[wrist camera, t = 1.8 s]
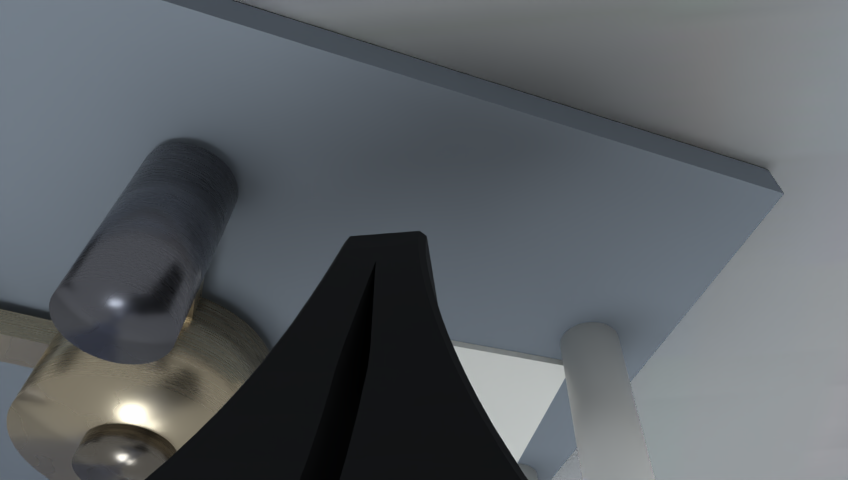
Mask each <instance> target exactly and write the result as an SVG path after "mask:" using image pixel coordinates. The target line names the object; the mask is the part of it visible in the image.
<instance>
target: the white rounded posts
mask: <svg viewBox="0 0 848 480" xmlns="http://www.w3.org/2000/svg"><path fill="white" fill-rule="evenodd" d="M451 342H452V344H453V347H454V349H455V351H456V354H457V356H458V358H459V360H460V362H461V365H462V367H463V369H464V371H465V373H466V375H467V377H468V379H469V381H470V383H471V385H472V387H473V389H474V391H475V393H476V395H477V397H478V399H479V401H480V402H481V404H482V406H483V408H484V409H485V411H486V413H487V415H488V417H489V418H490V420H491V422H492V424H493V425H494V427H495V429H496V430H497V432H498V434H499V435H500V437H501V438H502V440H503V442H504V443H505V445H506V446H507V448H508V449H509V451H510V453H511V454H512V456H513V457H514V459H515V460H516V462H517V464H518V461H519V459H520V457H521V456H522V454H523V452H524V450H525V449H526V447H527V445H528V443H529V441H530V440H531V438H532V436H533V434H534V433H535V431H536V429H537V427H538V425H539V424H540V422H541V420H542V418H543V417H544V415H545V413H546V411H547V409H548V408H549V406H550V404H551V402H552V401H553V399H554V397H555V395H556V393H557V392H558V390H559V388H560V386H561V384H562V383H563V381H564V379H565V378H566V384H567V390H568V396H569V402H570V408H571V414H572V420H573V426H574V432H575V438H576V444H577V450H578V457H579V463H580V469H581V475H582V480H655V477H654V473H653V469H652V465H651V461H650V458H649V454H648V450H647V446H646V442H645V438H644V434H643V431H642V427H641V423H640V419H639V415H638V411H637V407H636V404H635V400H634V396H633V392H632V388H631V384H630V380H629V376H628V373H627V369H626V365H625V361H624V357H623V353H622V349H621V346H620V342H619V338H618V335H617V333H616V331H615V330H614V329H613V328H612V327H610V326H608V325H606V324H603V323H597V322H588V323H582V324H579V325H576V326H574V327H572V328H570V329H569V330H568V331H566V332H565V333H564V335H563V336H562V338H561V341H560V347H561V354H562V360H558V359H553V358H547V357H542V356H536V355H531V354H525V353H520V352H514V351H508V350H503V349H497V348H492V347H486V346H481V345H475V344H470V343H464V342H459V341H453V340H451ZM518 465H519V467H520V468H521V470H522V472H523V473H524V475H525V476H526V477H527V479H528V480H538V478H537V473H536V471H535V470H534V469H533V468H532V467H530V466H527V465H524V464H518Z"/></svg>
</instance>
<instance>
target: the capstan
mask: <svg viewBox="0 0 848 480" xmlns="http://www.w3.org/2000/svg"><path fill="white" fill-rule="evenodd" d="M238 193H239V192H238V185H237V181H236V179H235V176H234V175H233V173H232V171H231V170H230V168H229V167H228V166H227V165H226V164H225V163H224V162H223V161H222V160H221V159H220V158H219V157H217V156H216V155H215V154H213V153H211V152H210V151H208V150H206V149H204V148H201V147H198V146H195V145H191V144H186V143H171V144H166V145H162V146H160V147H157V148H156V149H154V150H153V151H152V152H150V153H149V154H148V156H147V157H146V158H145V160H144V161H143V163H142V164H141V165H140V167H139V168H138V170H137V171H136V173H135V174H134V176H133V177H132V179H131V180H130V182H129V183H128V185H127V186H126V187H125V189H124V190H123V192H122V193H121V195H120V196H119V198H118V199H117V201H116V202H115V204H114V205H113V207H112V208H111V209H110V211H109V212H108V214H107V215H106V217H105V218H104V220H103V221H102V223H101V224H100V226H99V227H98V229H97V230H96V231H95V233H94V234H93V236H92V237H91V239H90V240H89V242H88V243H87V245H86V246H85V248H84V249H83V251H82V252H81V254H80V255H79V256H78V258H77V259H76V261H75V262H74V264H73V265H72V267H71V268H70V270H69V271H68V273H67V274H66V276H65V277H64V278H63V280H62V281H61V283H60V284H59V286H58V287H57V289H56V290H55V292H54V293H53V295H52V297H51V299H50V303H49V312H50V316H51V319H52V320H48V319H43V318H39V317H35V316H30V315H26V314H21V313H17V312H12V311H8V310H4V309H0V361H1V362H6V363H10V364H15V365H20V366H24V367H29V368H34V369H33V371H32V372H31V374H30V376H29V377H28V379H27V380H26V382H25V383H24V385H23V387H22V388H21V390H20V391H19V393H18V394H17V396H16V398H15V399H14V401H13V402H12V404H11V406H10V408H9V410H8V414H7V418H6V419H7V430H8V434H9V437H10V439H11V441H12V443H13V445H14V447H15V448H16V449H17V451H18V452H19V454H20V455H21V456H22V457H23V458H24V459H25V460H26V461H27V462H28V463H29V464H30V465H31V466H32V467H33V468H35V469H36V470H37V471H38V472H40V473H41V474H42V475H44V476H45V477H47V478H48V479H50V480H145V479H146V478H147V477H148V476H149V475H150V474H152V473H153V472H154V471H155V470H156V469H158V468H159V467H160V466H161V465H162V464H163V463H165V462H166V461H167V460H168V459H169V458H170V457H171V456H172V455H173V454H174V453H176V452H177V451H178V450H179V449H180V448H181V447H182V446H183V445H184V444H185V443H186V442H187V441H188V440H189V439H190V438H191V437H192V436H194V435H195V434H196V433H197V432H198V431H199V430H200V429H201V428H202V427H203V426H204V425H205V424H206V423H207V422H208V421H209V420H210V419H211V418H212V417H213V416H214V415H215V414H216V413H217V412H218V411H219V410H220V409H221V408H222V407H223V406H224V404H225V403H226V402H227V401H228V400H229V399H230V398H231V397H232V396H233V395H234V394H235V393H236V392H237V390H238V389H239V388H240V387H241V386H242V385H243V384H244V383H245V381H246V380H247V379H248V378H249V377H250V376H251V374H252V373H253V372H254V371H255V370H256V369H257V367H258V366H259V365H260V364H261V362H262V361H263V360H264V359H265V357H266V356H267V355H268V354H269V350H268V348H267V347H266V345H265V343H264V342H263V340H262V339H261V338H260V337H259V335H258V334H257V333H256V332H255V331H254V330H253V329H252V328H251V327H250V326H249V325H248V324H247V323H246V322H245V321H243V320H242V319H241V318H239V317H238V316H237V315H235V314H234V313H232V312H231V311H229V310H227V309H226V308H224V307H223V306H221V305H219V304H217V303H215V302H213V301H210V300H208V299H206V298H203V297H201V296H202V289H203V282H204V276H205V274H206V271H207V269H208V267H209V265H210V262H211V260H212V258H213V255H214V253H215V251H216V249H217V246H218V244H219V242H220V239H221V237H222V235H223V233H224V230H225V228H226V226H227V223H228V221H229V219H230V217H231V214H232V212H233V210H234V207H235V205H236V203H237V200H238Z"/></svg>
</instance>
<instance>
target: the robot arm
mask: <svg viewBox="0 0 848 480" xmlns="http://www.w3.org/2000/svg"><path fill="white" fill-rule="evenodd" d="M145 480H528V479H527V477H526V476H525V475H524V473H523V472H522V470H521V468H520V467H519V465H518V464H517V462H516V460H515V459H514V457H513V456H512V454H511V453H510V451H509V449H508V448H507V446H506V445H505V443H504V442H503V440H502V438H501V437H500V435H499V434H498V432H497V430H496V429H495V427H494V425H493V424H492V422H491V420H490V418H489V417H488V415H487V413H486V411H485V409H484V408H483V406H482V404H481V402H480V401H479V399H478V397H477V395H476V393H475V391H474V389H473V387H472V385H471V383H470V381H469V379H468V377H467V375H466V373H465V371H464V369H463V367H462V365H461V362H460V360H459V358H458V356H457V354H456V351H455V349H454V347H453V344H452V342H451V339H450V337H449V335H448V332H447V329H446V327H445V324H444V322H443V319H442V316H441V313H440V310H439V307H438V302H437V296H436V290H435V283H434V277H433V271H432V265H431V259H430V253H429V246H428V240H427V236H426V235H425V234H424V233H422V232H421V231H410V232H397V233H384V234H371V235H358V236H350V237H349V238H348V239H347V240H346V241H345V243H344V244H343V246H342V248H341V249H340V251H339V253H338V254H337V256H336V257H335V259H334V261H333V262H332V264H331V266H330V267H329V269H328V270H327V272H326V273H325V275H324V277H323V278H322V280H321V281H320V283H319V284H318V286H317V287H316V289H315V290H314V292H313V293H312V295H311V296H310V298H309V299H308V301H307V302H306V304H305V305H304V306H303V308H302V309H301V311H300V312H299V314H298V315H297V317H296V318H295V319H294V321H293V322H292V324H291V325H290V326H289V328H288V329H287V330H286V332H285V333H284V334H283V336H282V337H281V338H280V339H279V341H278V342H277V343H276V345H275V346H274V347H273V348H272V350H271V351H270V352H269V354H268V355H267V356H266V357H265V359H264V360H263V361H262V362H261V364H260V365H259V366H258V367H257V369H256V370H255V371H254V372H253V373H252V374H251V376H250V377H249V378H248V379H247V380H246V381H245V383H244V384H243V385H242V386H241V387H240V388H239V389H238V390H237V392H236V393H235V394H234V395H233V396H232V397H231V398H230V399H229V400H228V401H227V402H226V403H225V404H224V406H223V407H222V408H221V409H220V410H219V411H218V412H217V413H216V414H215V415H214V416H213V417H212V418H211V419H210V420H209V421H208V422H207V423H206V424H205V425H204V426H203V427H202V428H201V429H200V430H199V431H198V432H197V433H196V434H195V435H194V436H192V437H191V438H190V439H189V440H188V441H187V442H186V443H185V444H184V445H183V446H182V447H181V448H180V449H179V450H178V451H177V452H176V453H174V454H173V455H172V456H171V457H170V458H169V459H168V460H167V461H166V462H165V463H163V464H162V465H161V466H160V467H159V468H158V469H156V470H155V471H154V472H153V473H152V474H150V475H149V476H148V477H147V478H146V479H145Z"/></svg>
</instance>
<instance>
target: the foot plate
mask: <svg viewBox="0 0 848 480" xmlns="http://www.w3.org/2000/svg"><path fill="white" fill-rule="evenodd" d="M171 143H186V144H191V145H195V146H198V147H201V148H204V149H206V150H208V151H210V152H211V153H213V154H215V155H216V156H217V157H219V158H220V159H221V160H222V161H223V162H224V163H225V164H226V165H227V166H228V167H229V168H230V170H231V171H232V173H233V175H234V176H235V179H236V181H237V185H238V192H239V193H238V200H237V203H236V205H235V207H234V210H233V212H232V214H231V217H230V219H229V221H228V223H227V226H226V228H225V230H224V233H223V235H222V237H221V239H220V242H219V244H218V246H217V249H216V251H215V253H214V255H213V258H212V260H211V262H210V265H209V267H208V269H207V271H206V274H205V276H204V282H203V289H202V296H201V297H203V298H206V299H208V300H210V301H213V302H215V303H217V304H219V305H221V306H223V307H224V308H226V309H227V310H229V311H231V312H232V313H234V314H235V315H237V316H238V317H239V318H241V319H242V320H243V321H245V322H246V323H247V324H248V325H249V326H250V327H251V328H252V329H253V330H254V331H255V332H256V333H257V334H258V335H259V337H260V338H261V339H262V340H263V342H264V343H265V345H266V347H267V348H268V350H269V352H270V351H271V350H272V348H273V347H274V346H275V345H276V343H277V342H278V341H279V339H280V338H281V337H282V336H283V334H284V333H285V332H286V330H287V329H288V328H289V326H290V325H291V324H292V322H293V321H294V319H295V318H296V317H297V315H298V314H299V312H300V311H301V309H302V308H303V306H304V305H305V304H306V302H307V301H308V299H309V298H310V296H311V295H312V293H313V292H314V290H315V289H316V287H317V286H318V284H319V283H320V281H321V280H322V278H323V277H324V275H325V273H326V272H327V270H328V269H329V267H330V266H331V264H332V262H333V261H334V259H335V257H336V256H337V254H338V253H339V251H340V249H341V248H342V246H343V244H344V243H345V241H346V240H347V239H348V238H349V237H350V236H358V235H371V234H384V233H397V232H410V231H421V232H422V233H424V234H425V235H426V236H427V240H428V246H429V253H430V259H431V265H432V271H433V277H434V283H435V290H436V296H437V302H438V307H439V310H440V313H441V316H442V319H443V322H444V324H445V327H446V329H447V332H448V335H449V337H450V339H451V340H453V341H459V342H464V343H470V344H475V345H481V346H486V347H492V348H497V349H503V350H508V351H514V352H520V353H525V354H531V355H536V356H542V357H547V358H553V359H558V360H562V354H561V347H560V341H561V338H562V336H563V335H564V333H565V332H566V331H568V330H569V329H570V328H572V327H574V326H576V325H579V324H582V323H588V322H597V323H603V324H606V325H608V326H610V327H612V328H613V329H614V330H615V331H616V333H617V335H618V338H619V342H620V346H621V349H622V353H623V357H624V361H625V365H626V369H627V373H628V376H629V380H630V382H631V381H632V379H633V378H634V377H635V376H636V375H637V373H638V372H639V371H640V370H641V368H642V367H643V366H644V365H645V363H646V362H647V361H648V360H649V359H650V357H651V356H652V355H653V354H654V352H655V351H656V350H657V349H658V348H659V346H660V345H661V344H662V343H663V341H664V340H665V339H666V338H667V337H668V335H669V334H670V333H671V332H672V330H673V329H674V328H675V327H676V325H677V324H678V323H679V322H680V321H681V319H682V318H683V317H684V316H685V314H686V313H687V312H688V311H689V310H690V308H691V307H692V306H693V305H694V303H695V302H696V301H697V300H698V298H699V297H700V296H701V295H702V294H703V292H704V291H705V290H706V289H707V287H708V286H709V285H710V284H711V283H712V281H713V280H714V279H715V278H716V276H717V275H718V274H719V273H720V272H721V270H722V269H723V268H724V267H725V265H726V264H727V263H728V262H729V260H730V259H731V258H732V257H733V256H734V254H735V253H736V252H737V251H738V249H739V248H740V247H741V246H742V245H743V243H744V242H745V241H746V240H747V238H748V237H749V236H750V235H751V234H752V232H753V231H754V230H755V229H756V227H757V226H758V225H759V224H760V222H761V221H762V220H763V219H764V218H765V216H766V215H767V214H768V213H769V211H770V210H771V209H772V208H773V207H774V205H775V204H776V203H777V202H778V200H779V199H780V198H781V197H782V196H783V194H784V193H783V191H782V190H781V188H780V187H779V185H778V184H777V182H776V181H775V179H774V178H773V176H772V175H771V173H770V172H769V171H768V170H767V169H764V168H761V167H758V166H755V165H751V164H748V163H745V162H742V161H739V160H736V159H732V158H729V157H726V156H723V155H720V154H717V153H714V152H710V151H707V150H704V149H701V148H698V147H695V146H691V145H688V144H685V143H682V142H679V141H676V140H672V139H669V138H666V137H663V136H660V135H657V134H653V133H650V132H647V131H644V130H641V129H638V128H634V127H631V126H628V125H625V124H622V123H619V122H615V121H612V120H609V119H606V118H603V117H600V116H596V115H593V114H590V113H587V112H584V111H581V110H577V109H574V108H571V107H568V106H565V105H562V104H559V103H555V102H552V101H549V100H546V99H543V98H540V97H536V96H533V95H530V94H527V93H524V92H521V91H517V90H514V89H511V88H508V87H505V86H502V85H498V84H495V83H492V82H489V81H486V80H483V79H479V78H476V77H473V76H470V75H467V74H464V73H460V72H457V71H454V70H451V69H448V68H445V67H441V66H438V65H435V64H432V63H429V62H426V61H422V60H419V59H416V58H413V57H410V56H407V55H403V54H400V53H397V52H394V51H391V50H388V49H385V48H381V47H378V46H375V45H372V44H369V43H366V42H362V41H359V40H356V39H353V38H350V37H347V36H343V35H340V34H337V33H334V32H331V31H328V30H324V29H321V28H318V27H315V26H312V25H309V24H305V23H302V22H299V21H296V20H293V19H290V18H286V17H283V16H280V15H277V14H274V13H271V12H267V11H264V10H261V9H258V8H255V7H252V6H248V5H245V4H242V3H239V2H236V1H233V0H0V309H4V310H8V311H12V312H17V313H21V314H26V315H30V316H35V317H39V318H43V319H48V320H52V319H51V316H50V312H49V303H50V299H51V297H52V295H53V293H54V292H55V290H56V289H57V287H58V286H59V284H60V283H61V281H62V280H63V278H64V277H65V276H66V274H67V273H68V271H69V270H70V268H71V267H72V265H73V264H74V262H75V261H76V259H77V258H78V256H79V255H80V254H81V252H82V251H83V249H84V248H85V246H86V245H87V243H88V242H89V240H90V239H91V237H92V236H93V234H94V233H95V231H96V230H97V229H98V227H99V226H100V224H101V223H102V221H103V220H104V218H105V217H106V215H107V214H108V212H109V211H110V209H111V208H112V207H113V205H114V204H115V202H116V201H117V199H118V198H119V196H120V195H121V193H122V192H123V190H124V189H125V187H126V186H127V185H128V183H129V182H130V180H131V179H132V177H133V176H134V174H135V173H136V171H137V170H138V168H139V167H140V165H141V164H142V163H143V161H144V160H145V158H146V157H147V156H148V154H149V153H150V152H152V151H153V150H154V149H156V148H157V147H160V146H162V145H166V144H171ZM33 369H34V368H29V367H24V366H20V365H15V364H10V363H6V362H1V361H0V480H50V479H48V478H47V477H45V476H44V475H42V474H41V473H40V472H38V471H37V470H36V469H35V468H33V467H32V466H31V465H30V464H29V463H28V462H27V461H26V460H25V459H24V458H23V457H22V456H21V455H20V454H19V452H18V451H17V449H16V448H15V447H14V445H13V443H12V441H11V439H10V437H9V434H8V430H7V419H6V418H7V414H8V410H9V408H10V406H11V404H12V402H13V401H14V399H15V398H16V396H17V394H18V393H19V391H20V390H21V388H22V387H23V385H24V383H25V382H26V380H27V379H28V377H29V376H30V374H31V372H32V371H33ZM576 448H577V444H576V438H575V432H574V426H573V420H572V414H571V408H570V402H569V396H568V390H567V384H566V378H565V379H564V381H563V383H562V384H561V386H560V388H559V390H558V392H557V393H556V395H555V397H554V399H553V401H552V402H551V404H550V406H549V408H548V409H547V411H546V413H545V415H544V417H543V418H542V420H541V422H540V424H539V425H538V427H537V429H536V431H535V433H534V434H533V436H532V438H531V440H530V441H529V443H528V445H527V447H526V449H525V450H524V452H523V454H522V456H521V457H520V459H519V461H518V464H524V465H527V466H530V467H532V468H533V469H534V470H535V471H536V473H537V478H538V480H551V479H552V478H553V476H554V475H555V474H556V473H557V471H558V470H559V469H560V468H561V466H562V465H563V464H564V463H565V462H566V460H567V459H568V458H569V457H570V455H571V454H572V453H573V452H574V451H575V449H576Z"/></svg>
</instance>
